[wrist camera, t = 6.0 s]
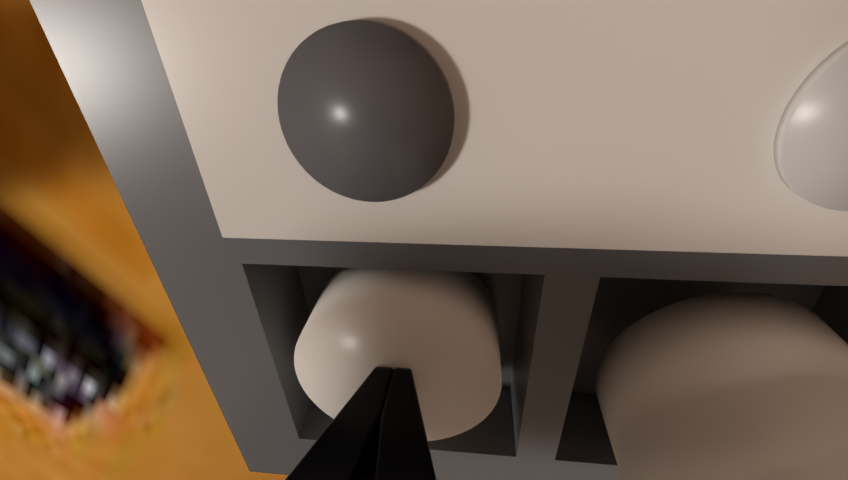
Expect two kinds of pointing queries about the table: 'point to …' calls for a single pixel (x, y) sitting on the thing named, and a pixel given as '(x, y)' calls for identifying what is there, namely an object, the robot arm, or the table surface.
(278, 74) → the board
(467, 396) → the button
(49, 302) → the table surface
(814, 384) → the button
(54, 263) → the table surface
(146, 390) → the table surface
